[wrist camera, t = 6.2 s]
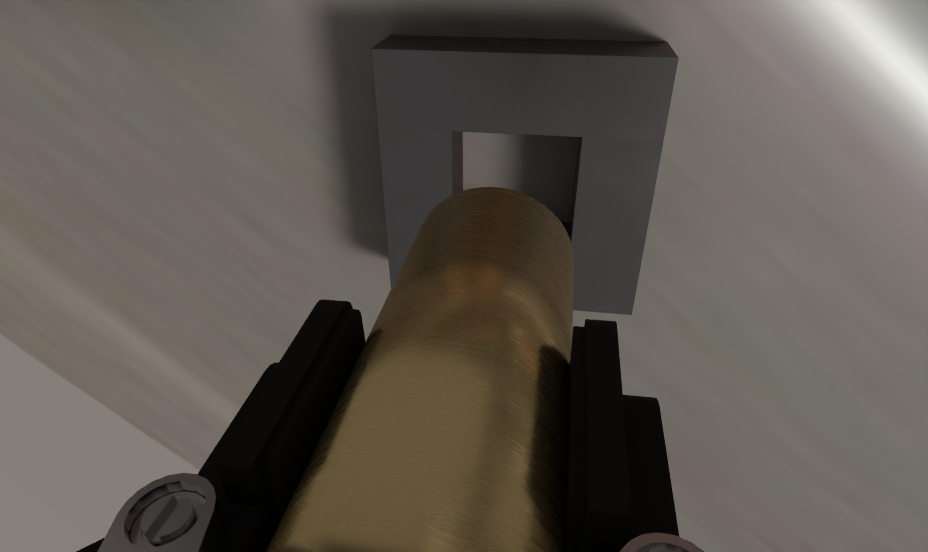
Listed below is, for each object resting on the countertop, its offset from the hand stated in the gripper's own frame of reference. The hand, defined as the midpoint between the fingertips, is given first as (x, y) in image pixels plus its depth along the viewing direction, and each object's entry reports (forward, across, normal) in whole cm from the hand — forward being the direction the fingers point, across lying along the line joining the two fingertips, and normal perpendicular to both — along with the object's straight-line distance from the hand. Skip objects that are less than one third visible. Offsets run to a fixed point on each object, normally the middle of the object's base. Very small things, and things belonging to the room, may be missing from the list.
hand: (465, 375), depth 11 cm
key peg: (+4, 0, 0) cm, 4 cm away
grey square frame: (+19, 0, +4) cm, 19 cm away
